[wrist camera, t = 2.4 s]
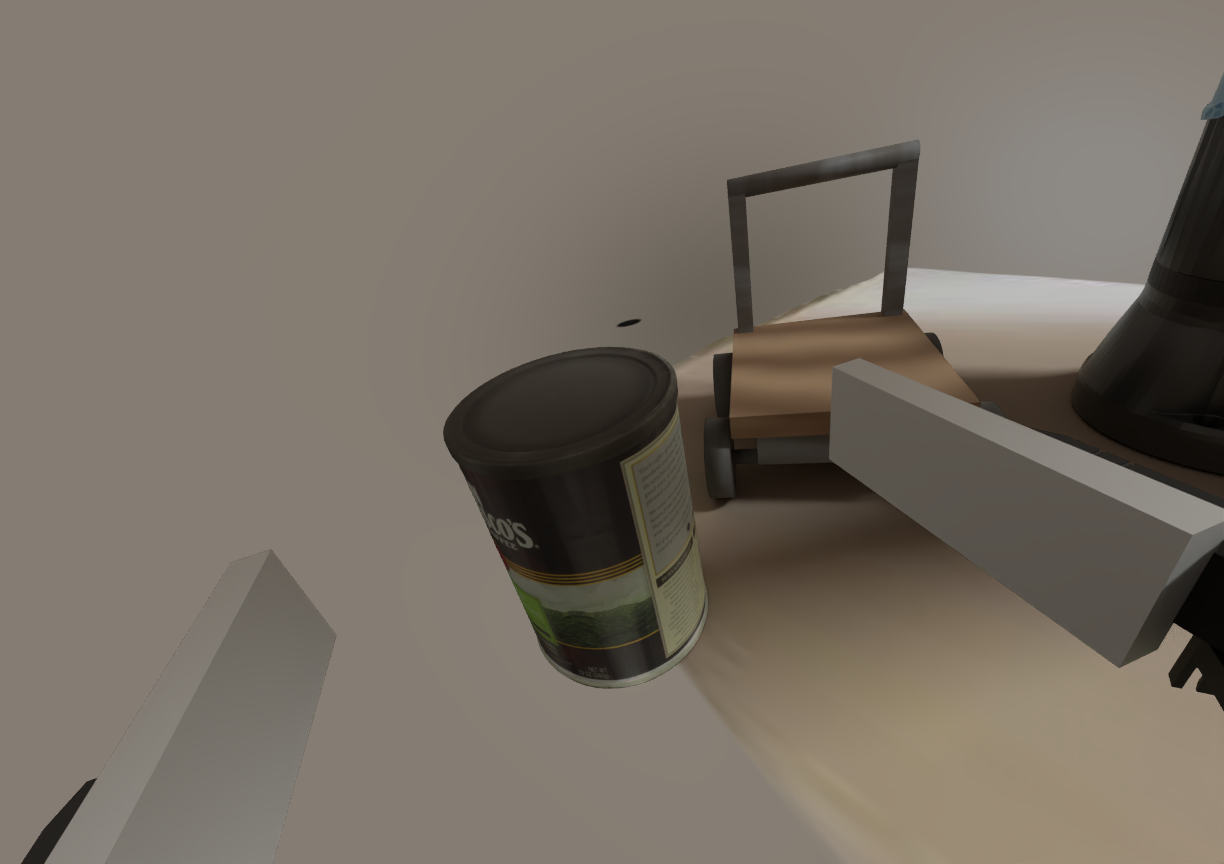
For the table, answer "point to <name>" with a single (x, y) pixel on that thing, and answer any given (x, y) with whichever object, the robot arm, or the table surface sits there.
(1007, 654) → the table surface
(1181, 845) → the table surface
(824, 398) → the trolley
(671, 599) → the coffee can
